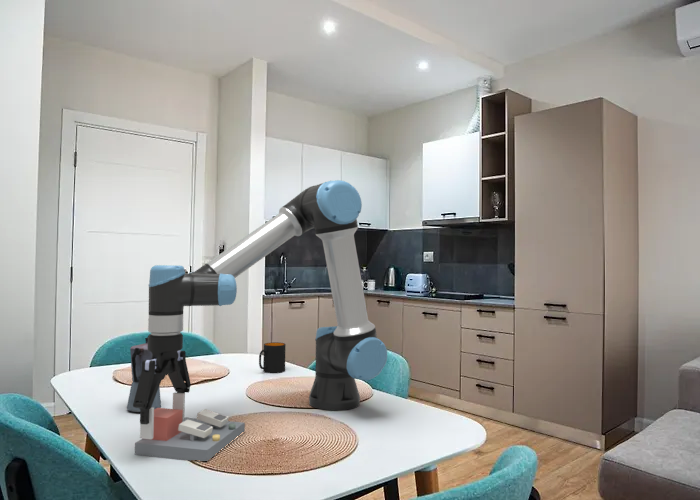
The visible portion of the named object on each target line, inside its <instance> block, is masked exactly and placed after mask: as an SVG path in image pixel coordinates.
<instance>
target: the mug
mask: <svg viewBox="0 0 700 500" xmlns="http://www.w3.org/2000/svg"><path fill="white" fill-rule="evenodd" d="M262 354H263V362H262ZM262 364H263V365H262ZM258 365H259V368H260V369H261V370H262V371H263V373H265V374H283V373H285V372H286V343H285V342H284V343H283V342H266V343H263V349H262V350H261V351H260V353H259V357H258Z"/></svg>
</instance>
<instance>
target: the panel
mask: <svg viewBox="0 0 700 500" xmlns="http://www.w3.org/2000/svg"><path fill="white" fill-rule="evenodd" d="M196 418H197V417H196ZM196 418H194V417H185V416H184V421H186V420H187V419H188V420H192V421H195V422H198V423H202V424H205V425H208V426H212V427H213V430H212V433H211V434H210V435H208V436H207V437H205V438H202V437H198V436H195V435H192V434H188V433H185V432H181V433H179V434H177V435H176V436H174V437H172V438H171V439H169V440H167V441H162V440H152V439H141V438H140V440H138V441H136V442H135V443H134V455H136V456H145V457H154V458H163V459H172V460H173V459H175V460H183V461H191V460H200V461H208V460H209V459H210V458H212V457H213V456H214V455H215V454H216V453H218V452H219V451H220V450H221V449H222V448H224V447H225V446H226V445H227V444H229V443H230V442H231V441H232V440H234V439H235V438H236V437H237V436H239V435H240V434H241V433H242V432H244V431H246V430H245V426H246V424H245V422H243V421H242V422H241V421H231V420H230V421H229V420H228V422H227V423H226V424H225V425H223V426H222V427H218V426H215V425H212V424H209V423H207V422H204V421H201V420H198V419H196ZM184 421H183V422H184ZM224 449H225V448H224ZM219 453H220V452H219ZM219 453H218V454H219ZM214 457H215V456H214ZM214 457H213V458H214ZM213 458H212V459H213ZM210 460H211V459H210ZM210 460H209V461H210ZM200 461H199V462H200ZM209 461H208V462H209Z"/></svg>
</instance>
